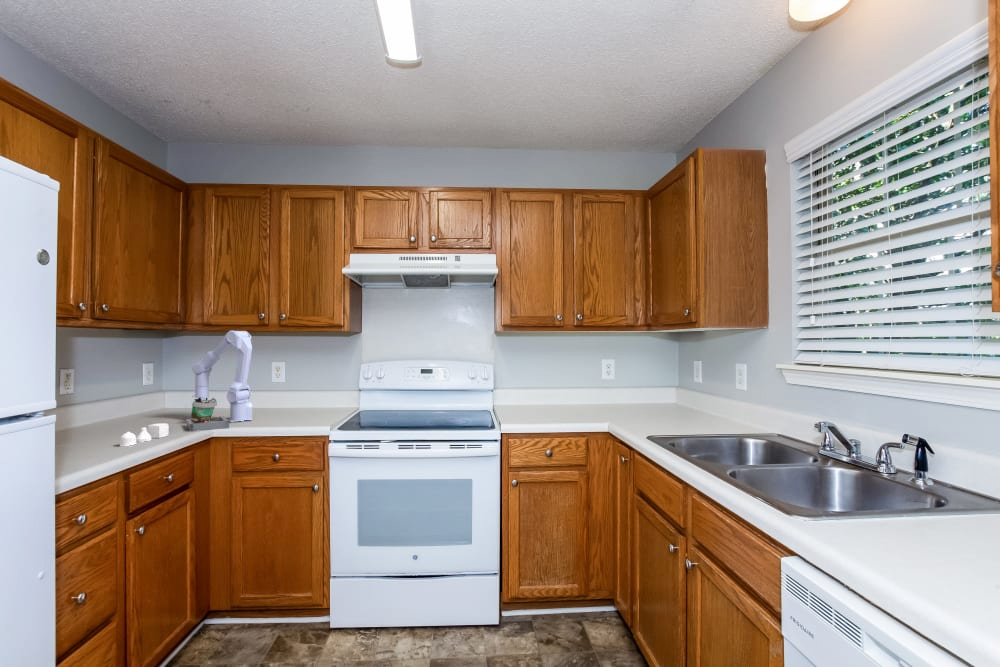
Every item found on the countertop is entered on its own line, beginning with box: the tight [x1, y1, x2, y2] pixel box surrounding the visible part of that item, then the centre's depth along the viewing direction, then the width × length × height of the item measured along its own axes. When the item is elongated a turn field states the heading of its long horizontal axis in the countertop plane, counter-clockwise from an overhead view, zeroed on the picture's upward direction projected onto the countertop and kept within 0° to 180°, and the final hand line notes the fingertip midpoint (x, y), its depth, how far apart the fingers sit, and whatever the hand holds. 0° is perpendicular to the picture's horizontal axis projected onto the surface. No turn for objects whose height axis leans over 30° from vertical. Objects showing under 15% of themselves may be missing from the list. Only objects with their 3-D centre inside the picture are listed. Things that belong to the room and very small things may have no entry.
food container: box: [190, 397, 218, 423], centre depth 230 cm, size 12×6×10 cm, turn 168°
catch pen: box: [185, 415, 230, 432], centre depth 218 cm, size 15×16×3 cm
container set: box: [119, 422, 170, 447], centre depth 188 cm, size 20×5×6 cm, turn 177°
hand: (201, 413), depth 237 cm, fingers open, 7 cm apart
